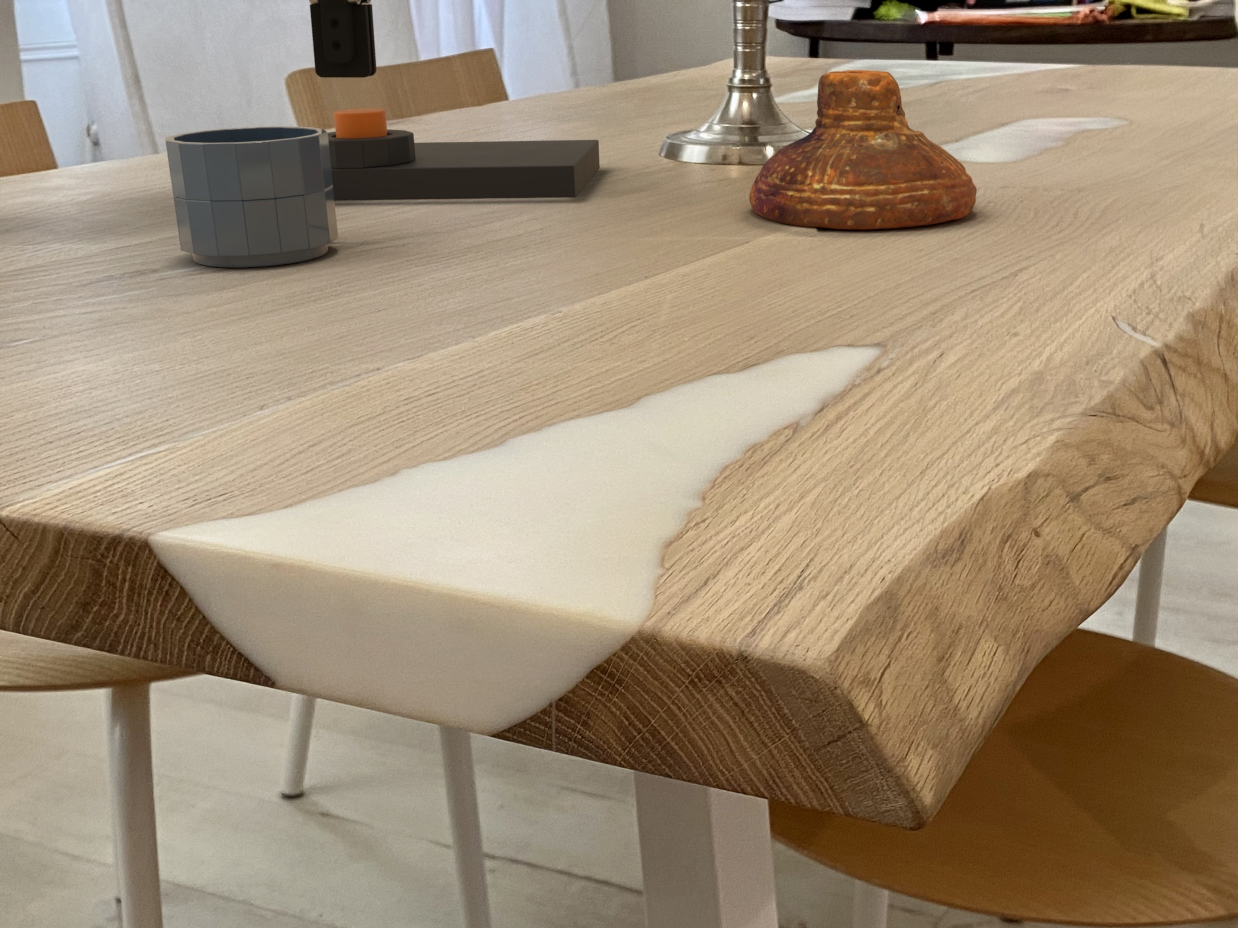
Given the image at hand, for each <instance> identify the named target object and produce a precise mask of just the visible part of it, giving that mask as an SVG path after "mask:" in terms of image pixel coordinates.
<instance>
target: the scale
mask: <svg viewBox="0 0 1238 928" xmlns="http://www.w3.org/2000/svg"><path fill="white" fill-rule="evenodd" d="M327 133H328V142H329V152H330V161H331V171H332V181H333V186H332V187H333V191H334V201H337V202H338V201H402V200H403V201H407V200H408V201H409V200H410V201H411V200H416V201H417V200H477V199H479V200H481V199H483V200H484V199H485V200H486V199H488V200H489V199H544V198H545V199H547V198H548V199H550V198H551V199H552V198H553V199H554V198H558V199H559V198H562V199H563V198H576V197H577V196H578V195H579V193H581V191H582V190H583V189H584V188H585V186H586V185H587V184H588V183H589V182H590V180H591V179H592V178H593V177H594V176H595V175H596V173H597V172H598V170H600V168H601V167H600V166H601V165H600V141H599V139H565V140H564V139H562V140H561V139H560V140H559V139H557V140H555V139H554V140H552V139H551V140H501V141H500V140H498V141H439V142H437V141H436V142H435V141H434V142H415V136H414V135H415V134H414V132H412V131H409V130H405V129H389V128H387V136H381V137H369V138H336V131H330V132H327Z"/></svg>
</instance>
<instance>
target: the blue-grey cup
mask: <svg viewBox="0 0 1238 928" xmlns="http://www.w3.org/2000/svg"><path fill="white" fill-rule="evenodd" d="M328 133H329V132H328V131H327V130H325V128H319V127H313V126H312V127H311V126H291V125H290V126H289V125H287V126H282V125H281V126H277V125H276V126H274V125H273V126H249V127H248V126H245V127H230V128H229V127H227V128H217V129H206V130H196V131H190V132H183V133H177V134H174V135H170V136H167V137H165V139H164V140H165V148H166V155H167V162H168V170H169V173H170V174H169V175H170V183H171V190H172V196H173V197H172V198H173V203H174V211H175V217H176V224H177V231H178V238H179V247H180V251H182V252H184V253H188V254H191V255H192V260H193V262H195V263H196V264H199V265H202V266H207V267H213V268H228V269H229V268H230V269H231V268H232V269H233V268H235V269H236V268H237V269H241V268H245V269H246V268H263V267H276V266H283V265H290V264H296V263H302V262H306V261H310V260H314V259H318V258H320V257H322V256H324V255H326V254H327V253H328V252H329V245H331V244H332V243H334V242H336V241H337V240H338V239H339V231H338V221H337V213H336V211H337V210H336V202H335V201H334V191H333V187H332V186H333V181H332V171H331V161H330V152H329V142H328Z"/></svg>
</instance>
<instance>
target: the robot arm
mask: <svg viewBox="0 0 1238 928" xmlns="http://www.w3.org/2000/svg"><path fill="white" fill-rule="evenodd" d="M308 1H309V12H310V23H311V24H310V25H311V34H312V35H311V39H312V49H313V50H312V51H313V62H314V71H315V74H316V75H317V77H319V78H328V79H329V78H335V79H337V78H339V79H341V78H343V79H344V78H345V79H346V78H347V79H348V78H351V79H352V78H353V79H354V78H355V79H357V78H358V79H359V78H361V79H363V78H368V77H371V76H372V77H373V76H374V75H375V74H376V72H377V58H376V56H377V55H376V43H375V42H376V41H375V29H374V28H375V27H374V13H373V3H372V0H308Z"/></svg>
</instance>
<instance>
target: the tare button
mask: <svg viewBox="0 0 1238 928" xmlns="http://www.w3.org/2000/svg"><path fill="white" fill-rule="evenodd" d="M333 119H334V130H335V131H334V132H336V138H369V137H381V136H387V129H388V124H387V114H386V110H385V109H384V108H370V107H369V108H367V107H366V108H347V109H339V110H335V111H334V112H333Z"/></svg>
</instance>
